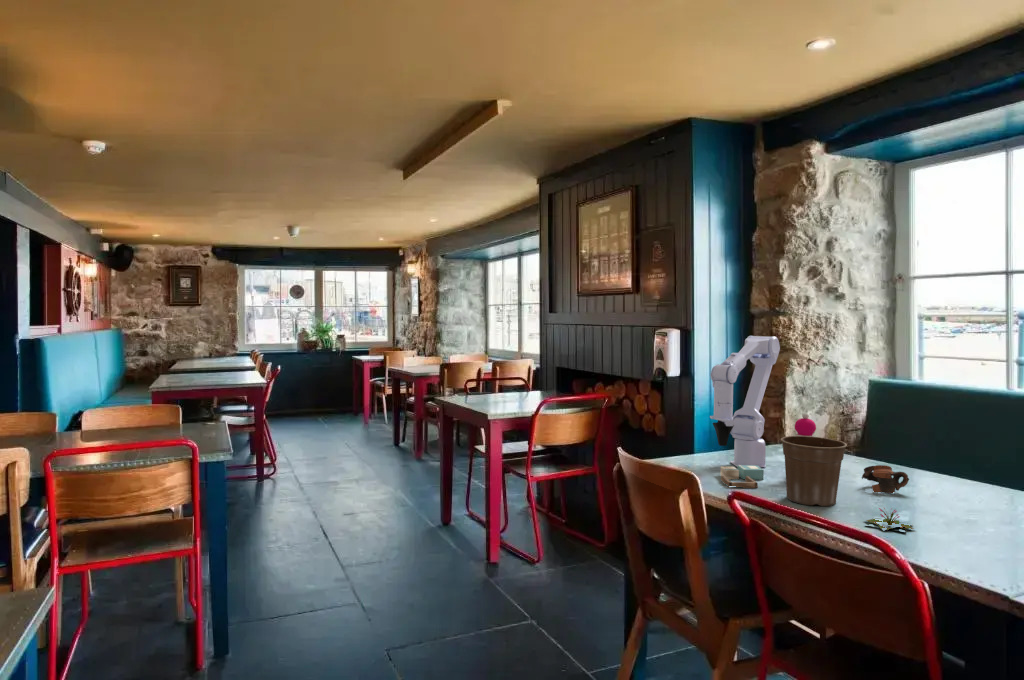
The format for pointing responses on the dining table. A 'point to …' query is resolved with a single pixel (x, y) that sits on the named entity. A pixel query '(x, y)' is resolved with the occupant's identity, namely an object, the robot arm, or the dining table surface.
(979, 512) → the dining table surface
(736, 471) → the stub
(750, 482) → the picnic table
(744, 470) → the teal toy building
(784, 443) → the plant pot
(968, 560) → the dining table surface
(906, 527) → the lily flower
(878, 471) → the pottery mug
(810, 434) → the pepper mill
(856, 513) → the dining table surface
